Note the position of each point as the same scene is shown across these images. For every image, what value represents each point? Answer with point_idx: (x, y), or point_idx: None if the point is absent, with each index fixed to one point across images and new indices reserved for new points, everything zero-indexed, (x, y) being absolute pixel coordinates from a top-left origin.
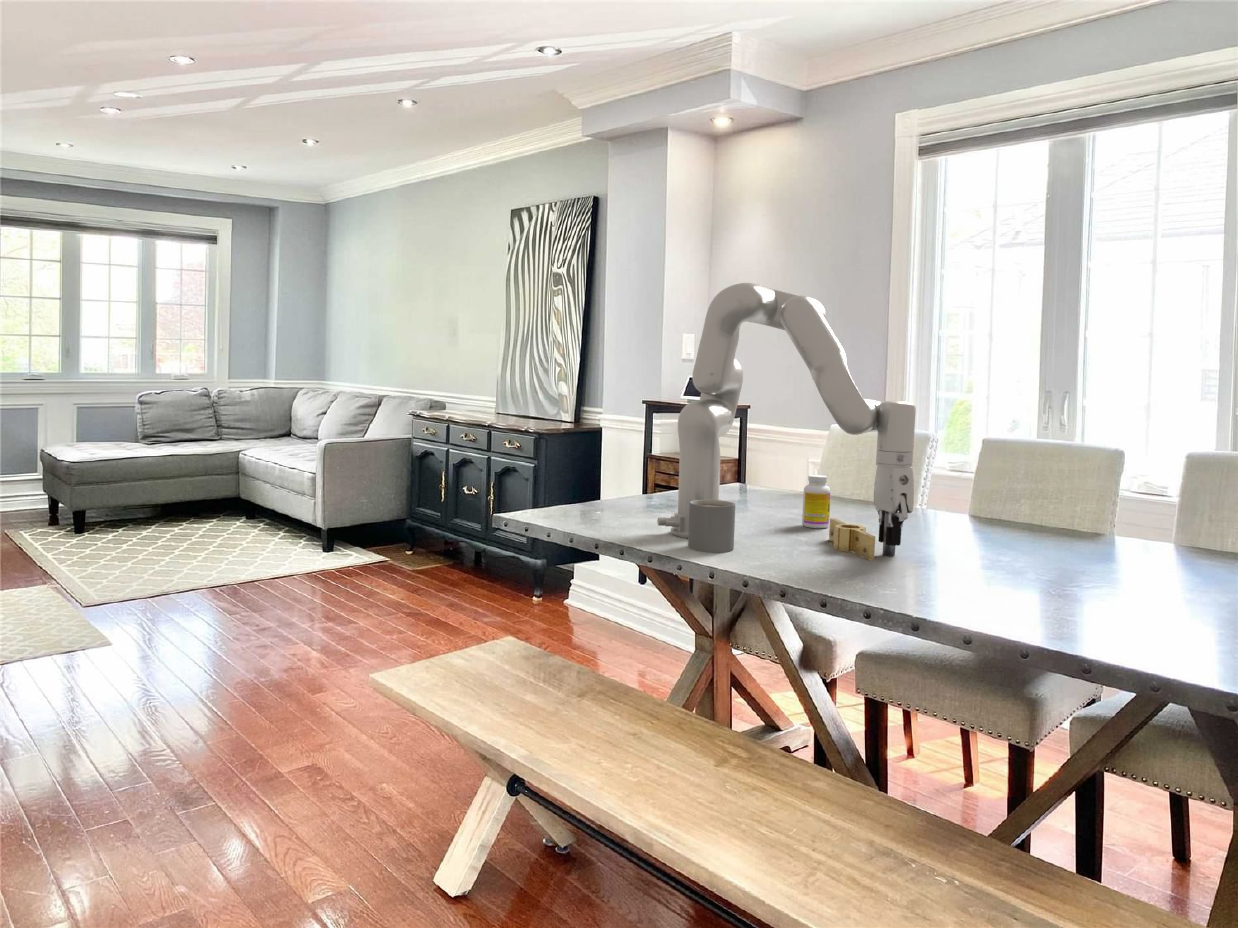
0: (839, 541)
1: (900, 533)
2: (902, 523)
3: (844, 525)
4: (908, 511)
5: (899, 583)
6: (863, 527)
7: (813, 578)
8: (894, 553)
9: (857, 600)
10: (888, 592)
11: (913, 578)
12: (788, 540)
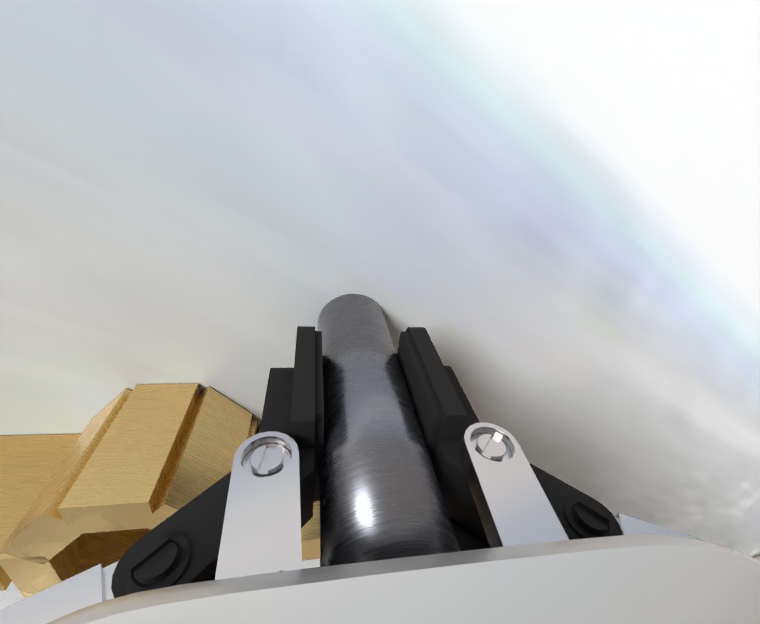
0: None
1: (447, 379)
2: (522, 457)
3: (65, 579)
4: (642, 556)
5: (721, 458)
6: (154, 514)
7: None
8: (382, 313)
9: None
10: (750, 502)
11: (715, 403)
12: (3, 591)
